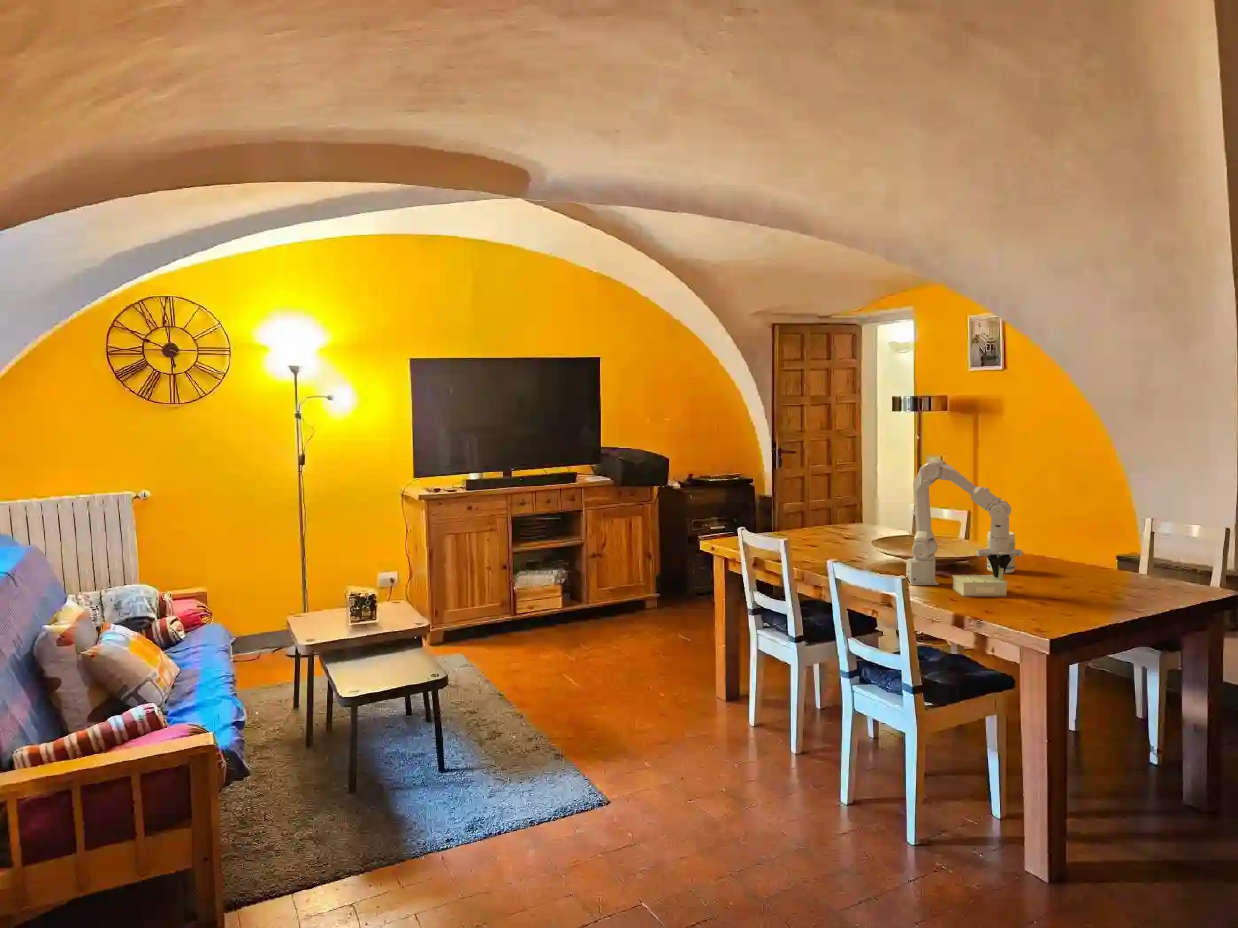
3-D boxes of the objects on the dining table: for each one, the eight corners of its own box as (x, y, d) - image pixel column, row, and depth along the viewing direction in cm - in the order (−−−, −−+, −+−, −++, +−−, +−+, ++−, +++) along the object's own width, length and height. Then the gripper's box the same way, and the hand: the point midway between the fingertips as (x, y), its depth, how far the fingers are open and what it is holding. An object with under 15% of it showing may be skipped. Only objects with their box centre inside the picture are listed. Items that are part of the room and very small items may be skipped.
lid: (963, 584, 275) (963, 570, 275) (952, 577, 285) (952, 563, 285) (1007, 584, 274) (1007, 570, 274) (994, 577, 285) (995, 563, 284)
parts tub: (963, 596, 276) (963, 584, 275) (952, 588, 286) (952, 577, 285) (1006, 596, 275) (1007, 584, 274) (994, 588, 285) (994, 577, 285)
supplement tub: (1019, 571, 310) (1021, 532, 308) (1005, 575, 305) (1006, 535, 303) (995, 567, 318) (996, 529, 316) (981, 570, 313) (982, 532, 311)
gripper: (982, 539, 275) (981, 579, 276) (1026, 539, 274) (1025, 579, 275) (974, 535, 282) (973, 574, 283) (1017, 535, 281) (1016, 574, 282)
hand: (998, 576), depth 280 cm, fingers closed on lid
